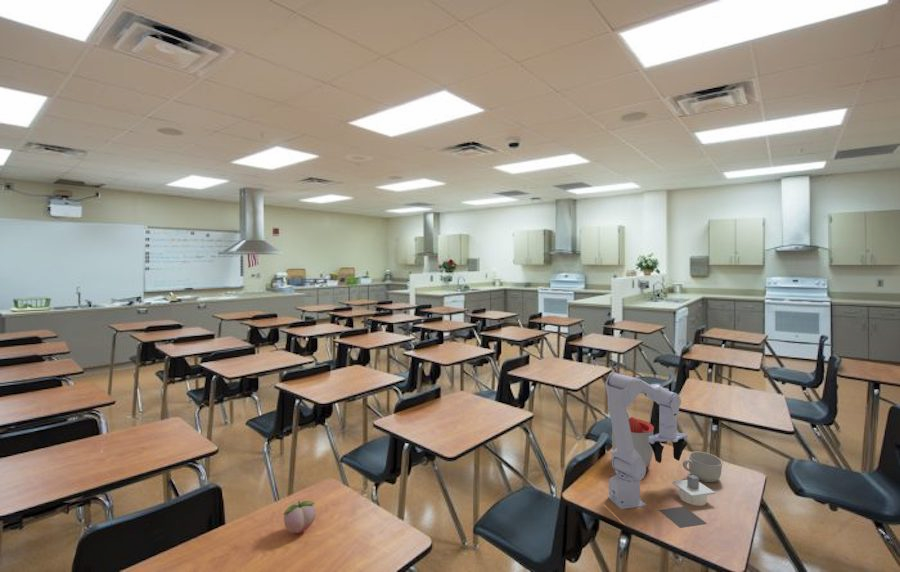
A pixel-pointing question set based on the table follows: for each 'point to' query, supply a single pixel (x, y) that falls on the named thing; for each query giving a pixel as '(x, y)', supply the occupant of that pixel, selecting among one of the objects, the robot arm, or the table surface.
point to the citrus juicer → (640, 439)
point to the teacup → (704, 466)
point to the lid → (693, 486)
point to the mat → (682, 517)
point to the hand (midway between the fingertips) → (667, 460)
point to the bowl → (693, 499)
